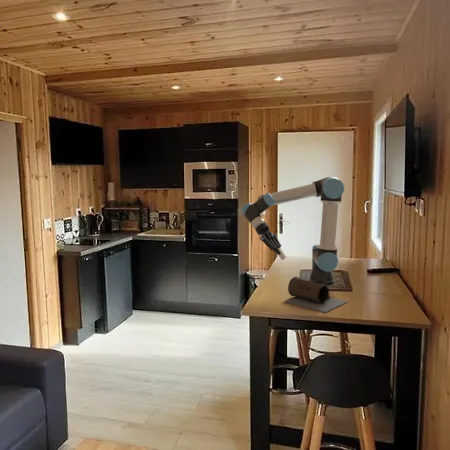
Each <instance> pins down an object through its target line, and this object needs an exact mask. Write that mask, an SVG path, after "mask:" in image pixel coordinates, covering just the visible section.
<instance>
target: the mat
mask: <svg viewBox="0 0 450 450" xmlns="http://www.w3.org/2000/svg"><path fill="white" fill-rule="evenodd" d="M329 297H330V296H329ZM347 303H348V301H347V300H343V299H341V298H340V299H339V298H334V297H330V299H327V300H326V301H325V302H324V303H317V302H316V301H312V300H309V299H305V298H301V297H294V298H291V299H289V300H286V301H285V304H289V305H293V306H297V307H301V308H305V309H310V310H311V311H317V312H320V313H325V314H327V313H328V312H331V311H333V310H335V309H337V308H339V307H341V306H343V305H345V304H347Z"/></svg>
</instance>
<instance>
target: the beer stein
mask: <svg viewBox="0 0 450 450" xmlns="http://www.w3.org/2000/svg"><path fill="white" fill-rule="evenodd" d="M287 291H288V294H289V295H290V296H291V297H294V298H296V297H301V298H305V299H309V300H312V301H316V302H317V303H324V302H325V301H326V300H327V299H330V295H329V293H330V291H329V287H328V285H327V284H316V283H313V282H310V281H309V280H306V279H303V278H301V277H298V276H293V277H292V278H291V279H290V280H289V283H288V286H287Z"/></svg>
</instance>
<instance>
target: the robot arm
mask: <svg viewBox="0 0 450 450" xmlns="http://www.w3.org/2000/svg"><path fill="white" fill-rule="evenodd" d="M344 193H345V185H344V183H343V181H342V180H341V179H340V178H338V177H335V176H332V177H331V176H327V177H324V178H321V179H319V180H316V181H312V182H311V183H310V184H309V183H308V184H305V185H302V186H295V187H292V188H289V189H284V190H279V191H276V192H271V193H270V192H267V193H265V194H261V195H259V196H258V197H257V199H256V201H255V202H254V203H252V202H247V203H245V204H244V205H243V206H241V212H242V214H243V216H244V217H245V218H246V219H247V221H248V222H249V224H250V225H251V226H252V228H253V229H254V230H255V232H256V234H257V235H258V236H260V237H259V240H260V241H262V242H263V243H264V244H265V245H266V247H268V249H269V250H270V251H272V252H275V253H276V255H277V256H278V257H279V259H280V260H281V261H284V260H285V259H286V258H287V255H285V253H284V251H283V250H282V249H281V247H282V245H281V242H280V240H279V239H278V237H277V234H276V233H275V232H272V231H271V230H270V226H269V225H268V223H267V222H266V221H265V220H264V218H263V217H262V215H261V214H263V213H264V212H266V211H267V210H269V208H271V207H273V206H277V205H282V204H285V203H289V202H295V201H299V200H302V199H308V198H312V197H314V198H319V197H320V202H321V203H322V213H321V225H320V226H321V227H320V239H319V244H314V245H313V246H312V249H311V252H312V253H311V254H312V255H311V256H312V257H311V258H312V260H311V263H312V264H311V271H310V274H309V277H308V281H310V282H313V283H316V284H324V285H330V284H329V283H332V284H334V283H333V282H335V277H334V274H333V272H334V270H336V268H337V267H338V265H339V259H338V258H339V257H338V247H337V246H336V239H337V238H336V237H337V227H338V226H337V225H338V224H337V223H338V213H339V212H338V211H339V205H340V203H341V202H342V197H343V194H344Z"/></svg>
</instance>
